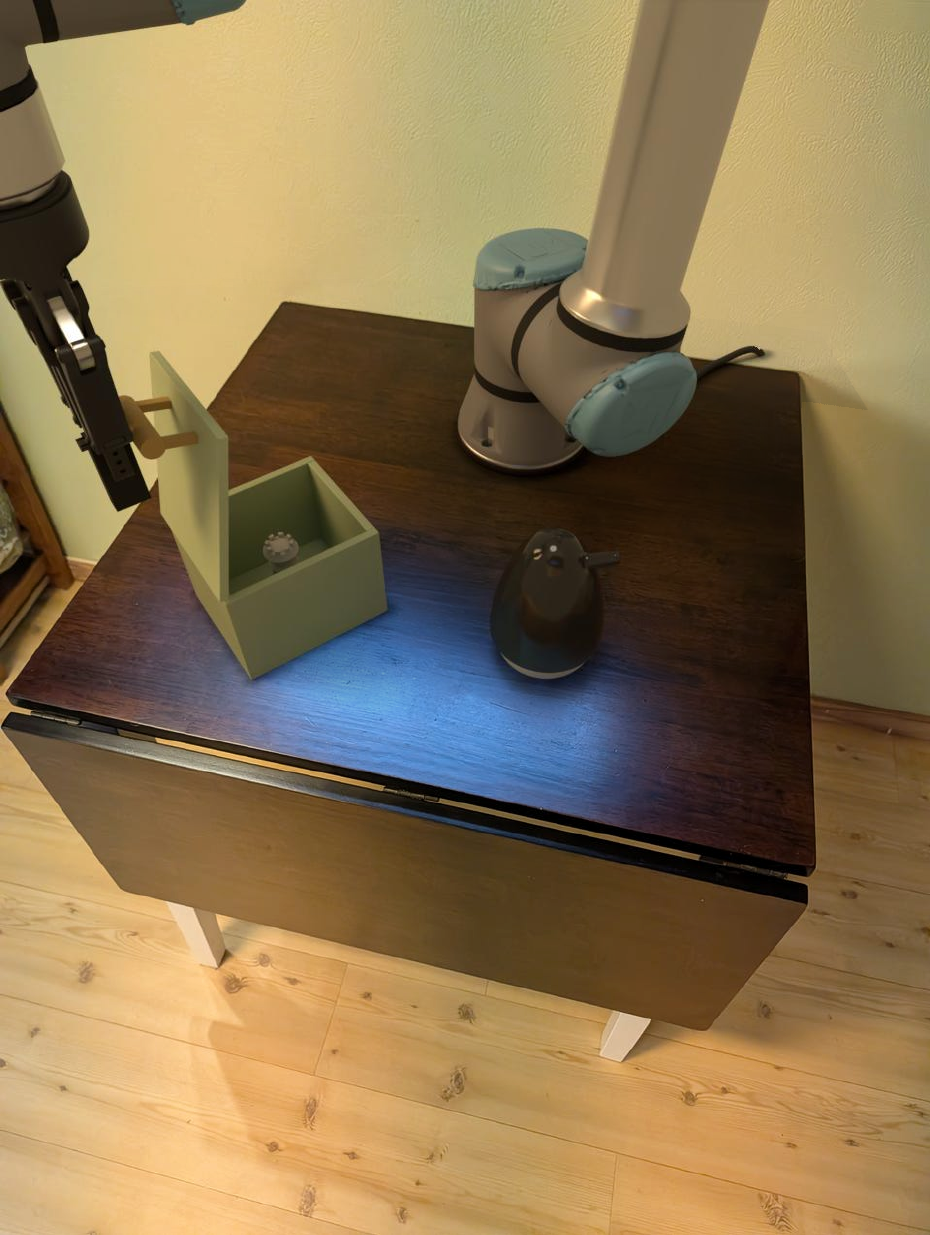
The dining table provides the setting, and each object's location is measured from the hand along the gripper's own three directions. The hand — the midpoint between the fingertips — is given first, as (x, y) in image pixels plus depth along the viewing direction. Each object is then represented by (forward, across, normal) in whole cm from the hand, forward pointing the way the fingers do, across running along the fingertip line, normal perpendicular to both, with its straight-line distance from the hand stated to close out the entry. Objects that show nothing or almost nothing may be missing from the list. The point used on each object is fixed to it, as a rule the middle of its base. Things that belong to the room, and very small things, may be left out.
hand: (131, 499), depth 64 cm
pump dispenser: (+20, +19, +27) cm, 38 cm away
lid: (+1, 0, +5) cm, 5 cm away
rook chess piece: (+19, 0, +10) cm, 21 cm away
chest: (+19, 0, +10) cm, 22 cm away
